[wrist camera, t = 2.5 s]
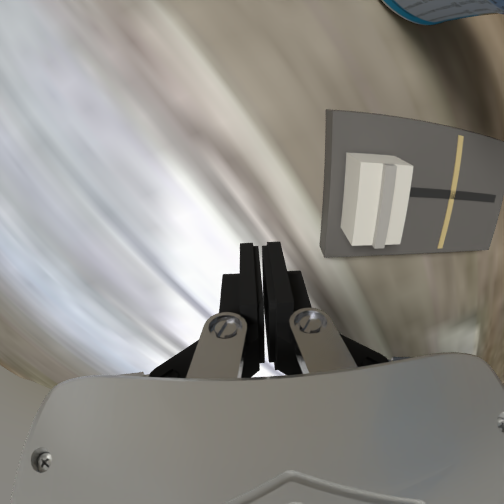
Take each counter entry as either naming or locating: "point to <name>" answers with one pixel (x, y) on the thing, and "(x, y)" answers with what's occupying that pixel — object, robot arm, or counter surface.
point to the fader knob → (375, 199)
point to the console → (418, 182)
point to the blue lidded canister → (442, 9)
